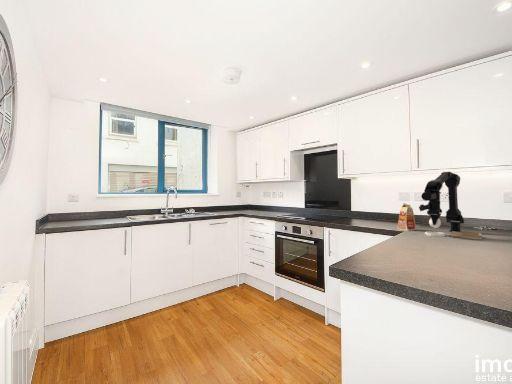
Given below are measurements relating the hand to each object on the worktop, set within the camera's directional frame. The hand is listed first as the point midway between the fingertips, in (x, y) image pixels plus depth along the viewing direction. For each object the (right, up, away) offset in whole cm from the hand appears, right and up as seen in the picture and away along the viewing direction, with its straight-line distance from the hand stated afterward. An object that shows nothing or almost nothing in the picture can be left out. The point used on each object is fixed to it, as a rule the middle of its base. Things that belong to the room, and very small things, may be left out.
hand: (434, 224), depth 157 cm
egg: (0, -3, 0) cm, 2 cm away
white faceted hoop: (0, -7, 0) cm, 7 cm away
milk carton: (-3, -7, +25) cm, 27 cm away
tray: (+14, -7, -7) cm, 17 cm away
